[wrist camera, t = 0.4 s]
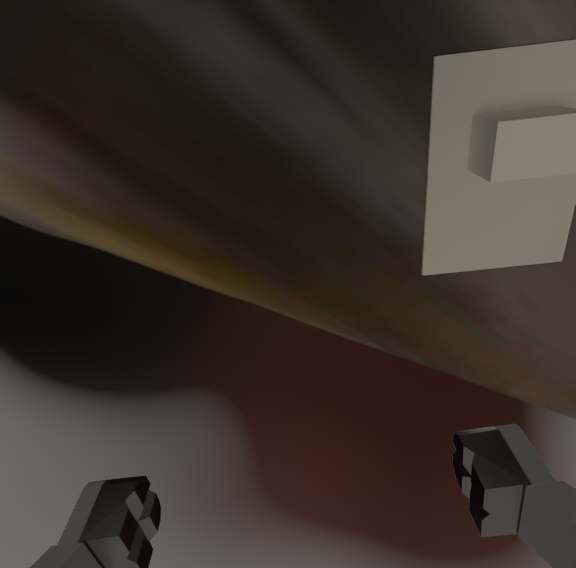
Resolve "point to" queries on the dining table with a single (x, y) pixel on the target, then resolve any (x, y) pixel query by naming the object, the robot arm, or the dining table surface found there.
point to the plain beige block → (523, 144)
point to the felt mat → (479, 192)
